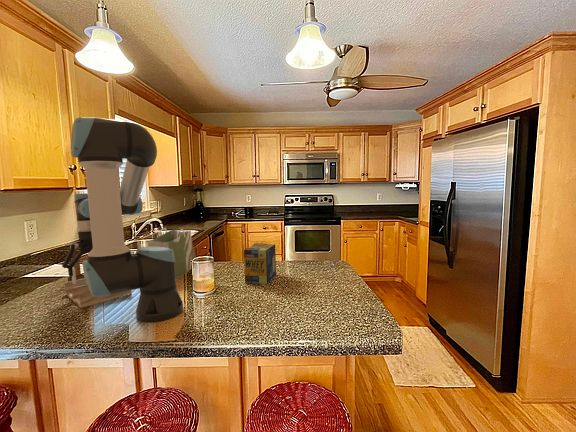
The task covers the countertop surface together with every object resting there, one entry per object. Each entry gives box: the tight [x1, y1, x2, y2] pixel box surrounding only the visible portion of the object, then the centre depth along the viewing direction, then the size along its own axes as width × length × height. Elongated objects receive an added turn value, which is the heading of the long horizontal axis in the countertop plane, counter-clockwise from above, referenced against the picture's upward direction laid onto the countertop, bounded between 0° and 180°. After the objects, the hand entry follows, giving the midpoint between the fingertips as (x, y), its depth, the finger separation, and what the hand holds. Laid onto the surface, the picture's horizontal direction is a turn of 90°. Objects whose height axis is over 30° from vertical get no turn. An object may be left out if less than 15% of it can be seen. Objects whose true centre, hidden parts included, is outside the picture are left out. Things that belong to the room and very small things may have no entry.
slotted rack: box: [64, 277, 133, 309], centre depth 127 cm, size 22×18×5 cm
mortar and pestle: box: [67, 245, 85, 282], centre depth 145 cm, size 7×6×18 cm
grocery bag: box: [147, 227, 197, 280], centre depth 155 cm, size 32×14×23 cm, turn 176°
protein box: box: [243, 242, 277, 286], centre depth 141 cm, size 10×15×16 cm
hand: (93, 279), depth 130 cm, fingers open, 13 cm apart
